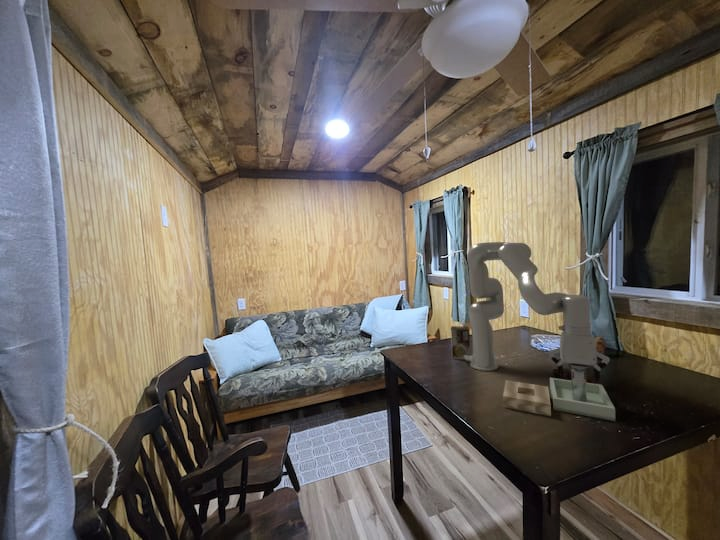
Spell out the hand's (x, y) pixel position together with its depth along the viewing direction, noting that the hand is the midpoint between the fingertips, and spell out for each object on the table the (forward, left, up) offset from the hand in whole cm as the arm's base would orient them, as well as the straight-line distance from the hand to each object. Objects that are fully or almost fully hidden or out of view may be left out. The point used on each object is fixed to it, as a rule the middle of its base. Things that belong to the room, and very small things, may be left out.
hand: (578, 378), depth 99 cm
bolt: (+1, +19, -9) cm, 21 cm away
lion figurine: (+13, +55, -9) cm, 57 cm away
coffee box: (-46, +30, -9) cm, 56 cm away
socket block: (-16, -7, -9) cm, 20 cm away
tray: (0, 0, -9) cm, 9 cm away
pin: (0, 0, -8) cm, 8 cm away
